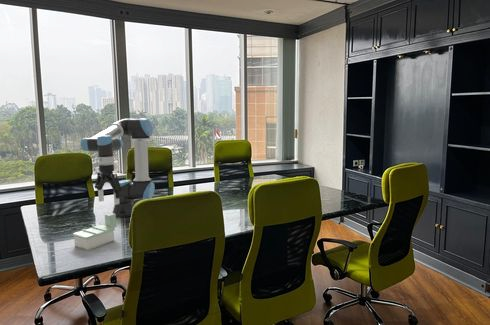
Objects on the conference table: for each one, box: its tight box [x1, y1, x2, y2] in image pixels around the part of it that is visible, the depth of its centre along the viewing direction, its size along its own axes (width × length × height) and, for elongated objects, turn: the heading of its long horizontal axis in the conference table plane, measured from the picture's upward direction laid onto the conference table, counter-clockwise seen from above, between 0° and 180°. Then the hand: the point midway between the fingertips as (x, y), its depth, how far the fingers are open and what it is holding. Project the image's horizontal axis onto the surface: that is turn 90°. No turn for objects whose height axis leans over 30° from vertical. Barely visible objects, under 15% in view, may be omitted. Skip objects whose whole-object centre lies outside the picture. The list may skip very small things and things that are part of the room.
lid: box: [72, 212, 117, 240], centre depth 197 cm, size 12×21×8 cm, turn 146°
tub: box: [73, 230, 115, 252], centre depth 196 cm, size 11×16×6 cm
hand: (109, 202), depth 202 cm, fingers open, 13 cm apart
